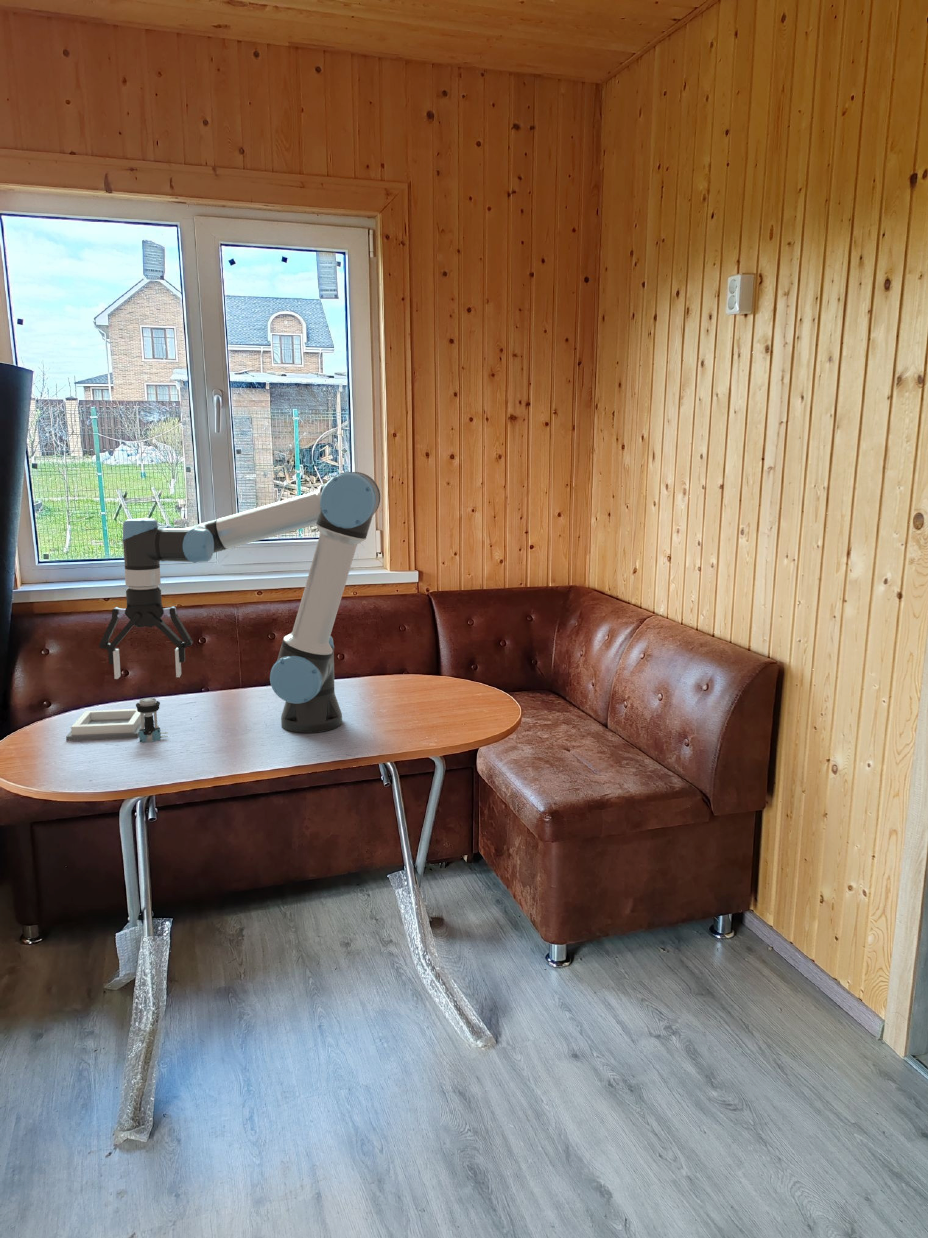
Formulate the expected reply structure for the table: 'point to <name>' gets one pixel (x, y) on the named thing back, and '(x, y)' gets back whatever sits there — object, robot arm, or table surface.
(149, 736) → the push button
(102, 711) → the socket plate
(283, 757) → the table surface
